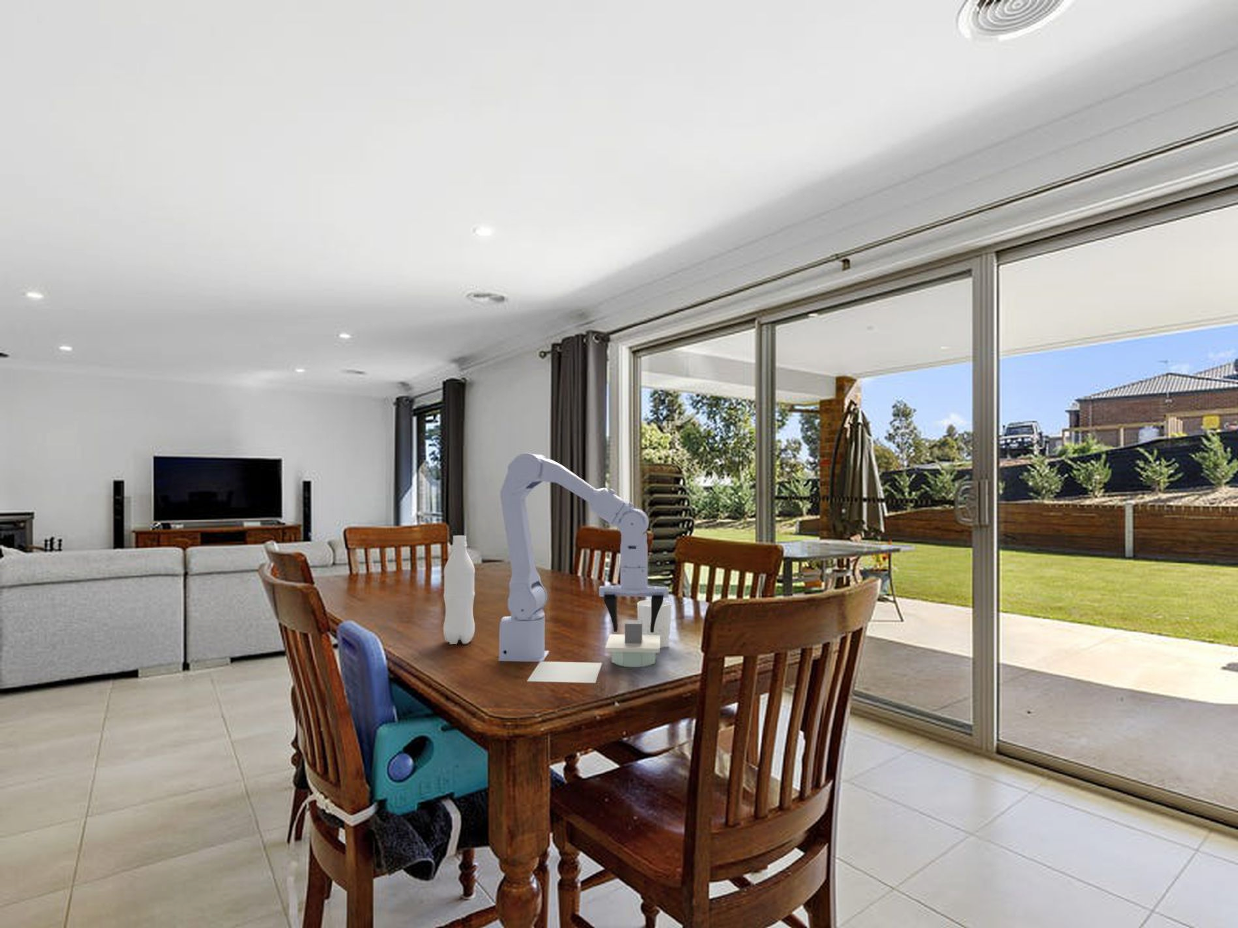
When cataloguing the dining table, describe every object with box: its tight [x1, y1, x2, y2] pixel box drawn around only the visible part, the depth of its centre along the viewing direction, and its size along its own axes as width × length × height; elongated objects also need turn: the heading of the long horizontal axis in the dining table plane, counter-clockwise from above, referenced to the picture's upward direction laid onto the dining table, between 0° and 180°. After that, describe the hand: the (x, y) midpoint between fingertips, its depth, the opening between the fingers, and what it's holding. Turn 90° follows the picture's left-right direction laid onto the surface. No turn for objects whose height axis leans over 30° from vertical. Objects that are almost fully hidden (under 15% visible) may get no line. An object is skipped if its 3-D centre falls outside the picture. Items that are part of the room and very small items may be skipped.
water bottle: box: [442, 535, 476, 645], centre depth 154 cm, size 7×7×25 cm
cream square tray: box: [526, 661, 603, 684], centre depth 129 cm, size 13×13×1 cm
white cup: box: [636, 599, 672, 649], centre depth 150 cm, size 8×8×10 cm
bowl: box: [611, 652, 656, 668], centre depth 137 cm, size 9×9×4 cm
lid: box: [604, 619, 661, 654], centre depth 136 cm, size 11×11×5 cm
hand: (633, 631), depth 137 cm, fingers open, 7 cm apart
